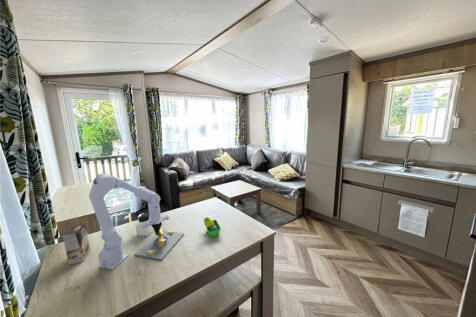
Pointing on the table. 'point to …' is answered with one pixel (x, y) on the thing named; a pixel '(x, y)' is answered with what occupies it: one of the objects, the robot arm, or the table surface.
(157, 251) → the base
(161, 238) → the long golden bar
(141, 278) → the table surface
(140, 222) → the medicine bottle
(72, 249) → the coffee box
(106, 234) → the robot arm
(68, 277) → the table surface
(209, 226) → the fruit basket
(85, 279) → the table surface
